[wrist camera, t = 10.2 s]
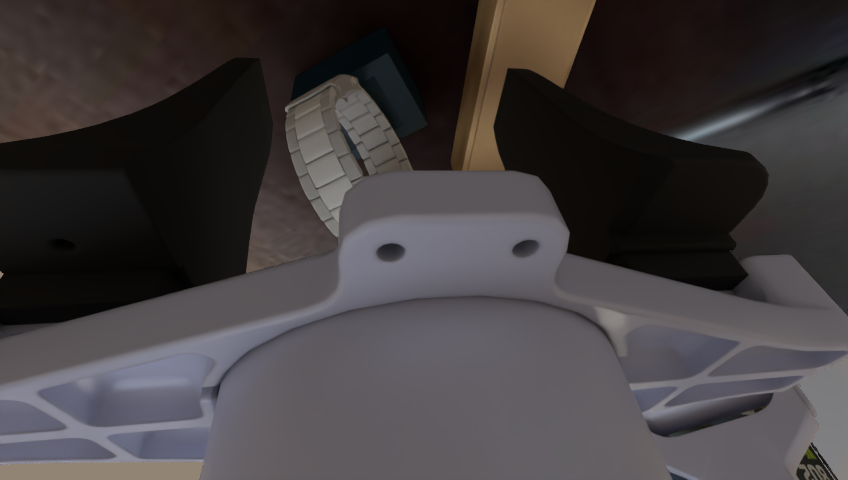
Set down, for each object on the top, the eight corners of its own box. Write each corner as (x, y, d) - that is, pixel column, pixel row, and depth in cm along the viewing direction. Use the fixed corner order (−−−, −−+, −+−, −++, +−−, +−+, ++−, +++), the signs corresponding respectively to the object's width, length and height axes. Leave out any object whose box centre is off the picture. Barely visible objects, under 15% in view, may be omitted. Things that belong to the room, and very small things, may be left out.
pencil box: (513, 162, 28) (527, 193, 26) (450, 162, 27) (458, 194, 25) (596, -96, 18) (629, -80, 16) (497, -107, 17) (518, -91, 15)
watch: (358, 158, 26) (361, 301, 19) (272, 47, 21) (229, 191, 13) (436, 120, 25) (470, 259, 18) (367, -10, 19) (375, 116, 12)
